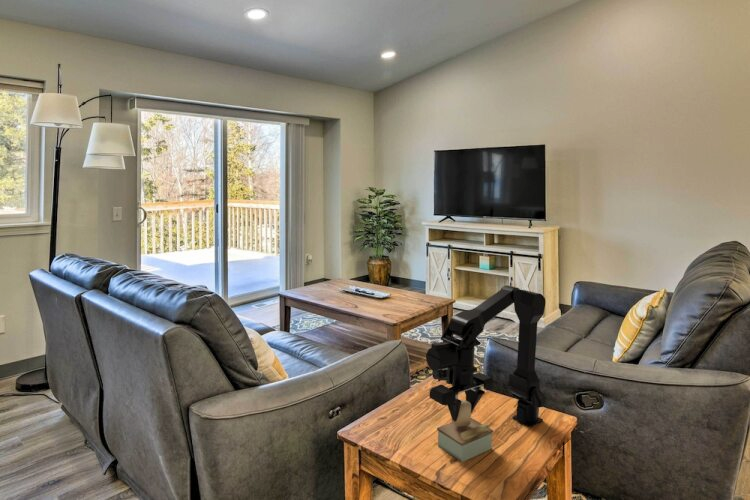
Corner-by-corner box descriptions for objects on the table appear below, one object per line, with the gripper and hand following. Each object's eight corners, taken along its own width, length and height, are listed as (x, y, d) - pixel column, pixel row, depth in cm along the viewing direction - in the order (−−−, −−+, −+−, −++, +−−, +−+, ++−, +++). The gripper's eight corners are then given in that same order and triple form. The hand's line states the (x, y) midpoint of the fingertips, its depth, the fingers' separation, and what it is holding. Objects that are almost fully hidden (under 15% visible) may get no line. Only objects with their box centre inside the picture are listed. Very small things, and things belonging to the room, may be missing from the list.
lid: (467, 417, 129) (467, 410, 129) (492, 432, 122) (493, 424, 121) (436, 429, 123) (437, 422, 122) (461, 445, 115) (461, 437, 115)
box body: (466, 433, 129) (467, 419, 129) (491, 448, 122) (492, 433, 122) (437, 445, 123) (438, 430, 123) (461, 462, 116) (462, 446, 115)
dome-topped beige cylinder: (474, 422, 122) (475, 405, 122) (461, 428, 120) (461, 410, 119) (461, 415, 127) (461, 398, 126) (448, 420, 124) (448, 402, 123)
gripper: (466, 347, 133) (464, 397, 135) (416, 360, 122) (415, 415, 124) (495, 358, 124) (493, 413, 126) (444, 374, 113) (443, 433, 115)
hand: (461, 417), depth 123 cm, fingers closed on dome-topped beige cylinder, 5 cm apart
